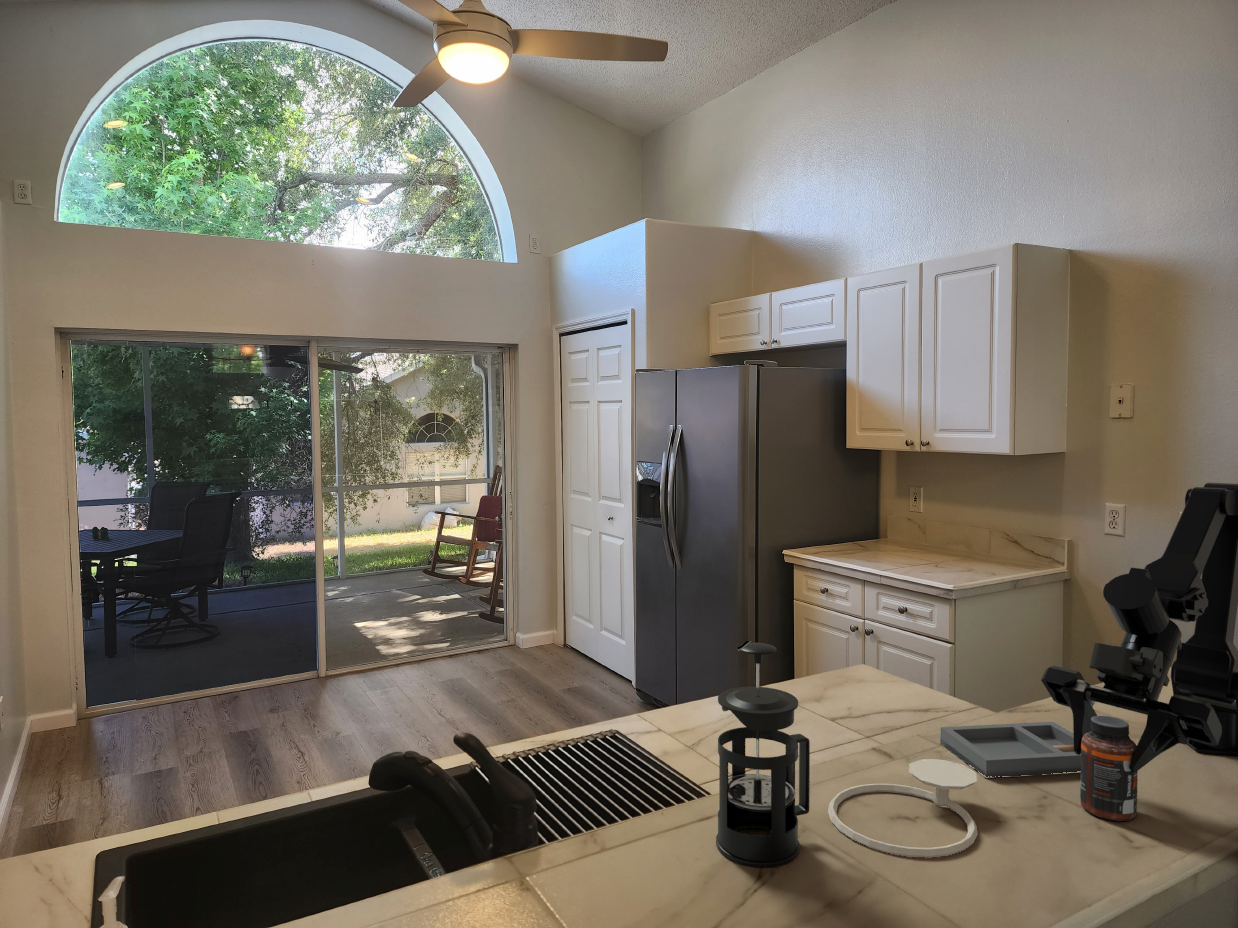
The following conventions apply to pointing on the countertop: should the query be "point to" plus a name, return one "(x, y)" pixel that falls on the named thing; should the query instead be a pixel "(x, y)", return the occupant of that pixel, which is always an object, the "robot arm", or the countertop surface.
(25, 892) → the countertop surface
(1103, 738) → the supplement bottle
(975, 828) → the hand towel holder
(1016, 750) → the divided tray
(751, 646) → the french press
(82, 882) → the countertop surface
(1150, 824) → the countertop surface
